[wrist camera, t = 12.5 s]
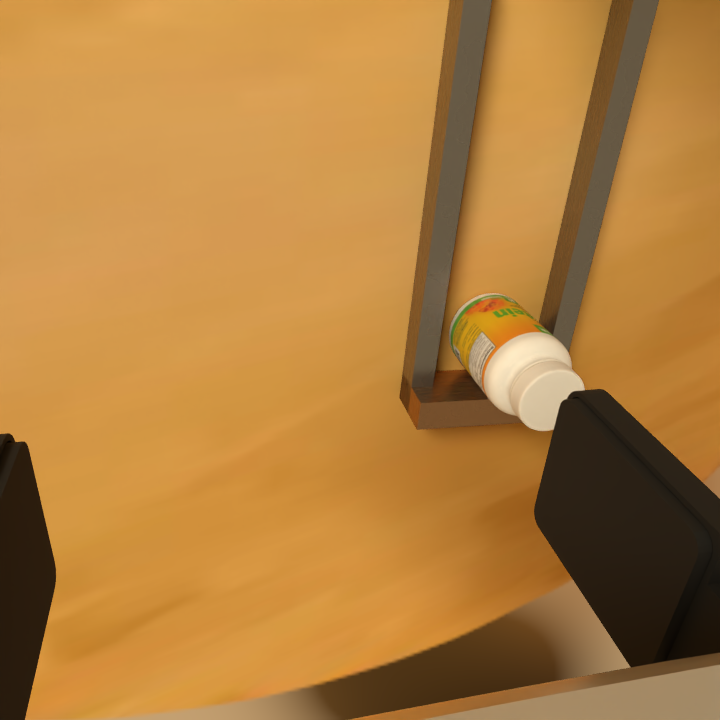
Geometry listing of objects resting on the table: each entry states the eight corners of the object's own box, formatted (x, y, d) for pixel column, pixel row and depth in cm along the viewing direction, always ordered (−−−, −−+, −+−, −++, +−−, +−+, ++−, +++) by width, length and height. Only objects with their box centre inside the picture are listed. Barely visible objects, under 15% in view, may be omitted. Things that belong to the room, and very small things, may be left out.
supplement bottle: (532, 298, 44) (613, 366, 35) (504, 367, 46) (574, 446, 38) (462, 284, 42) (529, 351, 34) (436, 356, 44) (493, 437, 36)
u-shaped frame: (454, -38, 33) (485, -43, 30) (640, -16, 36) (688, -18, 32) (399, 397, 45) (416, 429, 42) (541, 390, 48) (569, 419, 44)
